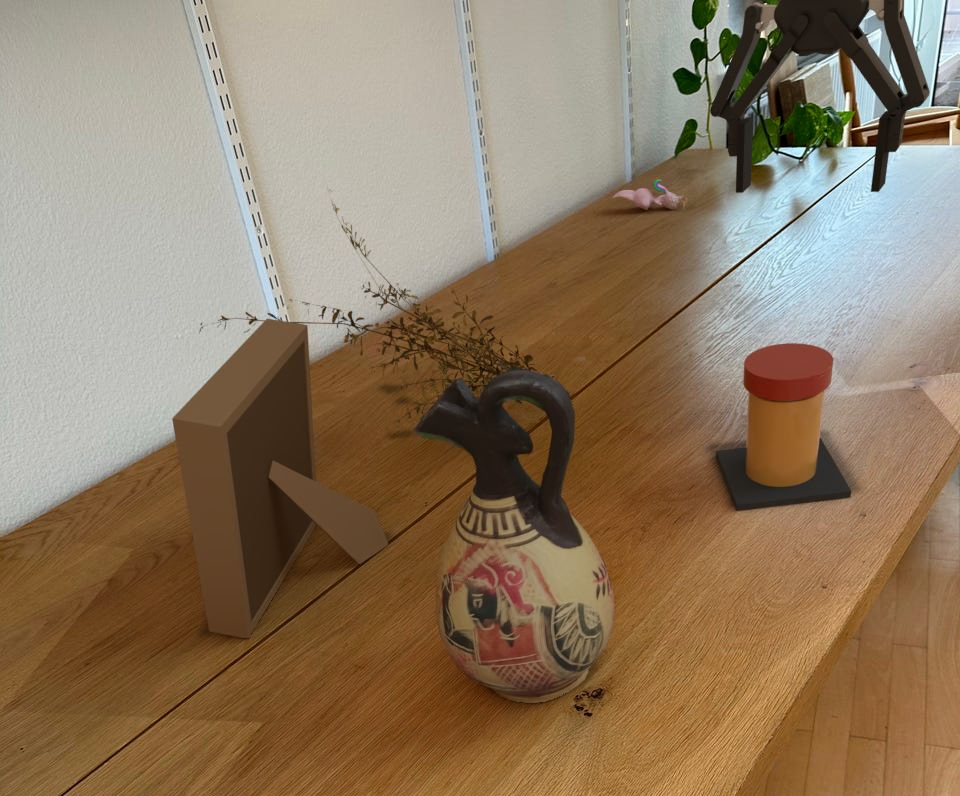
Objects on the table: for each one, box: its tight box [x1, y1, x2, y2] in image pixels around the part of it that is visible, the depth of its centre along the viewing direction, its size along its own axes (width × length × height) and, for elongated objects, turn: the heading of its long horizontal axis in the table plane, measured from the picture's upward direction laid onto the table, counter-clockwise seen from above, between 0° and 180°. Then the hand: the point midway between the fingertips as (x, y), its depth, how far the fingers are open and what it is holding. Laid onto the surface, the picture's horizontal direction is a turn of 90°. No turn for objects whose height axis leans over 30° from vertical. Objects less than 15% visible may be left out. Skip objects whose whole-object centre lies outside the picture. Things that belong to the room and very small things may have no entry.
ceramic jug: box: [413, 368, 616, 704], centre depth 73 cm, size 17×15×30 cm
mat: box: [715, 437, 852, 512], centre depth 101 cm, size 12×12×1 cm
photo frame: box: [171, 318, 389, 639], centre depth 92 cm, size 15×22×25 cm
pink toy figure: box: [611, 179, 688, 211], centre depth 181 cm, size 6×6×15 cm
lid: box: [742, 342, 834, 400], centre depth 94 cm, size 9×9×2 cm
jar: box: [745, 390, 825, 487], centre depth 97 cm, size 8×8×12 cm
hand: (808, 188), depth 93 cm, fingers open, 13 cm apart
